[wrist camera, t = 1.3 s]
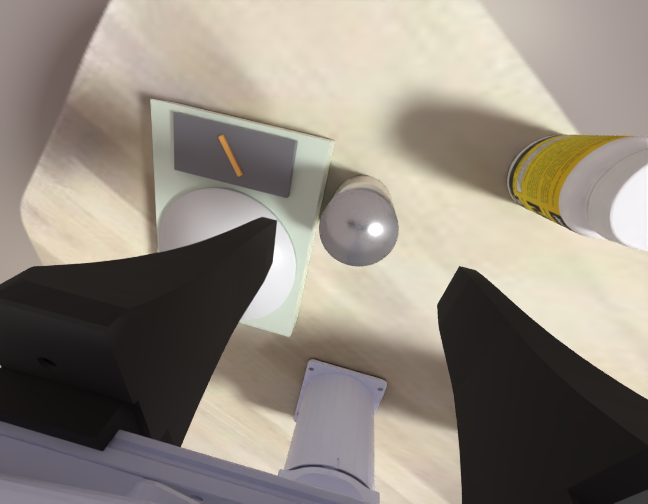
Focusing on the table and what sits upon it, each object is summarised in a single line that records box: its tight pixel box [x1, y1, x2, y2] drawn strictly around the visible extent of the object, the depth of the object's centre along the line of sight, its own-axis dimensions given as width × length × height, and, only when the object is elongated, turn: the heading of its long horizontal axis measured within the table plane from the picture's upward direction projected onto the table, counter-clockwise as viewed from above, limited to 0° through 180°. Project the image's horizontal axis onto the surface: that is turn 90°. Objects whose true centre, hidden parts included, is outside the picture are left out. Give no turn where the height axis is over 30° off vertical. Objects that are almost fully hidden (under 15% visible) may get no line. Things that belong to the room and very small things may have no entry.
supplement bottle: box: [507, 135, 648, 251], centre depth 14 cm, size 5×5×8 cm
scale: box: [150, 99, 335, 337], centre depth 22 cm, size 16×12×3 cm
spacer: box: [319, 176, 399, 266], centre depth 18 cm, size 4×4×6 cm
